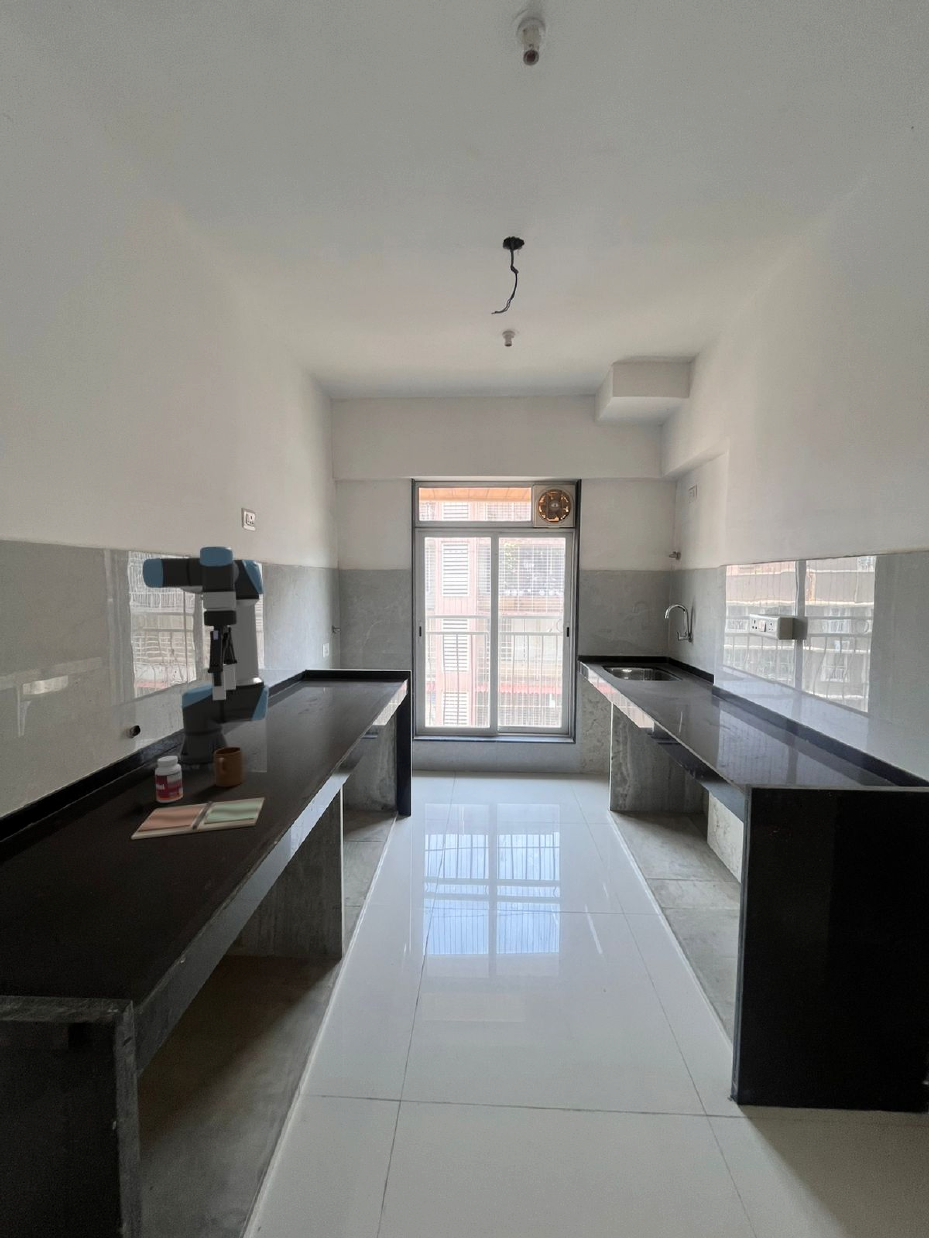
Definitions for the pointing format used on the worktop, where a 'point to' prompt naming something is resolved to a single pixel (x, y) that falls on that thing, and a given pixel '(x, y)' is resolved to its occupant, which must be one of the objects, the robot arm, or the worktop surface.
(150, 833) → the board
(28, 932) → the worktop surface
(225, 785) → the mug
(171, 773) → the pill bottle
